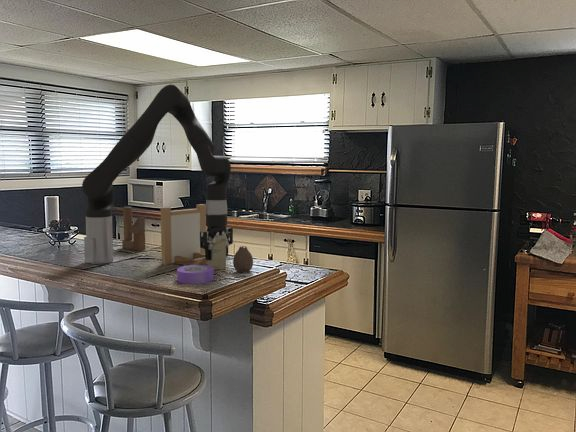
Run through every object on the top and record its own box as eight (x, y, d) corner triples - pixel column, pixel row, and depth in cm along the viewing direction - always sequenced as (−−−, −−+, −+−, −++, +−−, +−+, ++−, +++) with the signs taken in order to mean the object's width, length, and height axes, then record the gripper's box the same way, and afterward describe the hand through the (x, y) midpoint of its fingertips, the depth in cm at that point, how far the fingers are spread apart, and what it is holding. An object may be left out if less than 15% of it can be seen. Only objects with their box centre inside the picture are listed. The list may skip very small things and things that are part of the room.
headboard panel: (165, 264, 182) (164, 207, 180) (161, 263, 184) (160, 207, 181) (206, 256, 198) (206, 204, 195) (202, 256, 199) (201, 204, 197)
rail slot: (193, 267, 179) (193, 260, 178) (174, 262, 186) (174, 256, 185) (215, 262, 187) (215, 256, 187) (196, 258, 194) (196, 252, 193)
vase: (243, 268, 177) (242, 244, 176) (257, 271, 173) (257, 246, 172) (228, 271, 172) (228, 247, 171) (243, 275, 167) (243, 249, 166)
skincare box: (208, 269, 174) (208, 235, 173) (207, 267, 179) (207, 233, 177) (226, 269, 176) (226, 235, 175) (225, 266, 180) (224, 233, 179)
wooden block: (139, 250, 209) (138, 208, 207) (122, 248, 215) (120, 207, 213) (145, 249, 212) (144, 207, 210) (128, 247, 218) (127, 206, 216)
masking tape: (186, 286, 153) (186, 274, 152) (171, 278, 162) (171, 267, 161) (220, 281, 159) (220, 269, 159) (203, 274, 169) (203, 263, 168)
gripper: (223, 210, 183) (224, 254, 185) (193, 213, 172) (194, 260, 174) (238, 211, 178) (238, 256, 180) (208, 215, 167) (209, 262, 169)
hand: (216, 258), depth 177 cm, fingers closed on skincare box, 7 cm apart
